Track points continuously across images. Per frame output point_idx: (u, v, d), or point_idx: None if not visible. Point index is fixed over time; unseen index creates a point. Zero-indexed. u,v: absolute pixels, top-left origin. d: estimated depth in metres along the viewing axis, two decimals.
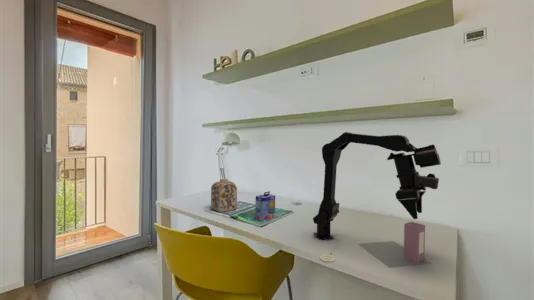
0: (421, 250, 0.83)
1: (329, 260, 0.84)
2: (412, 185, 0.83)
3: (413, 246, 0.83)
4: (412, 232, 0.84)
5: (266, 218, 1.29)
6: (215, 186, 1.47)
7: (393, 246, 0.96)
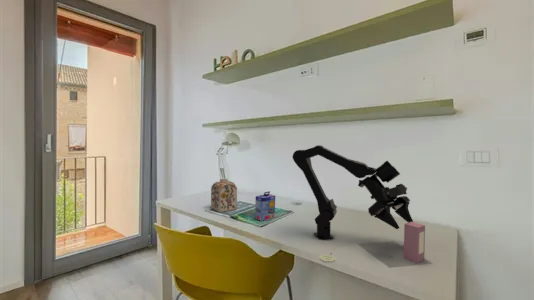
0: (421, 250, 0.83)
1: (329, 260, 0.84)
2: (384, 200, 0.92)
3: (413, 246, 0.83)
4: (412, 232, 0.84)
5: (266, 218, 1.29)
6: (215, 186, 1.47)
7: (393, 246, 0.96)
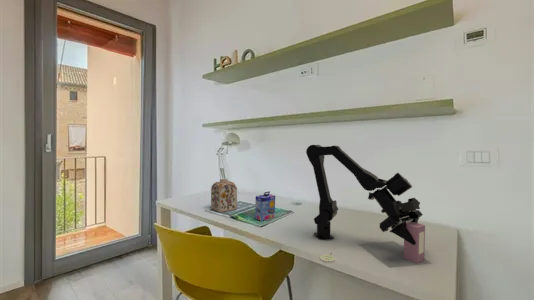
0: (421, 250, 0.83)
1: (329, 260, 0.84)
2: (395, 214, 0.88)
3: (413, 246, 0.83)
4: (412, 232, 0.84)
5: (266, 218, 1.29)
6: (215, 186, 1.47)
7: (393, 246, 0.96)
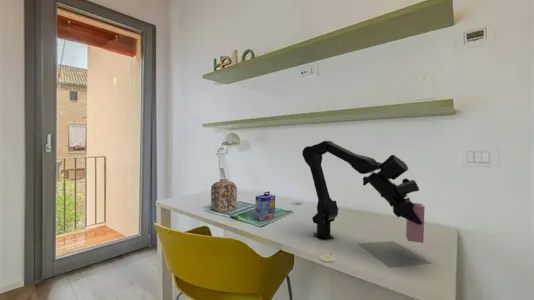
0: None
1: (329, 260, 0.84)
2: (399, 197, 0.85)
3: (419, 226, 0.83)
4: (418, 212, 0.83)
5: (266, 218, 1.29)
6: (215, 186, 1.47)
7: (393, 246, 0.96)
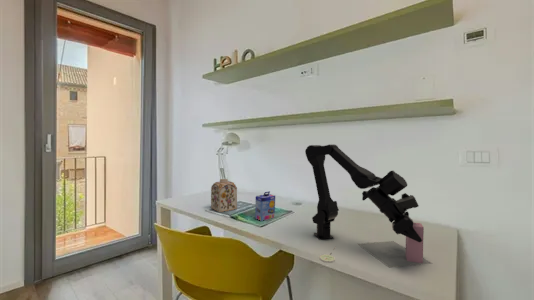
0: None
1: (329, 260, 0.84)
2: (398, 213, 0.85)
3: (418, 247, 0.83)
4: (417, 233, 0.83)
5: (266, 218, 1.29)
6: (215, 186, 1.47)
7: (393, 246, 0.96)
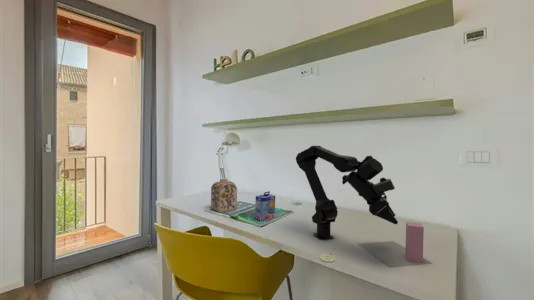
0: None
1: (329, 260, 0.84)
2: (375, 195, 0.87)
3: (418, 247, 0.83)
4: (417, 233, 0.83)
5: (266, 218, 1.29)
6: (215, 186, 1.47)
7: (393, 246, 0.96)
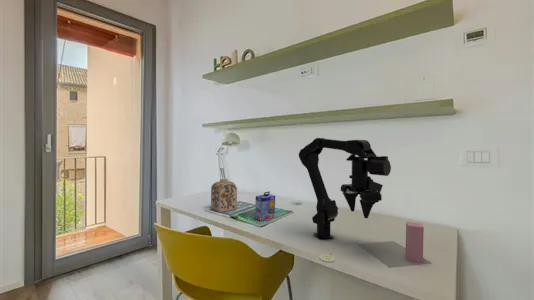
0: None
1: (329, 260, 0.84)
2: (366, 188, 0.92)
3: (418, 247, 0.83)
4: (417, 233, 0.83)
5: (266, 218, 1.29)
6: (215, 186, 1.47)
7: (393, 246, 0.96)
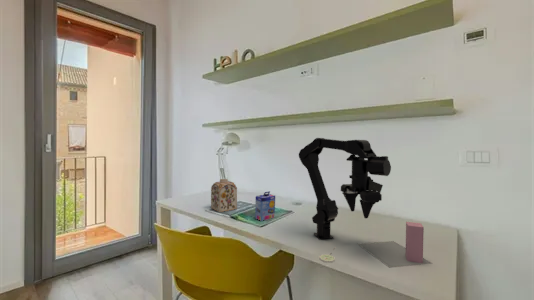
0: None
1: (329, 260, 0.84)
2: (366, 188, 0.92)
3: (418, 247, 0.83)
4: (417, 233, 0.83)
5: (266, 218, 1.29)
6: (215, 186, 1.47)
7: (393, 246, 0.96)
